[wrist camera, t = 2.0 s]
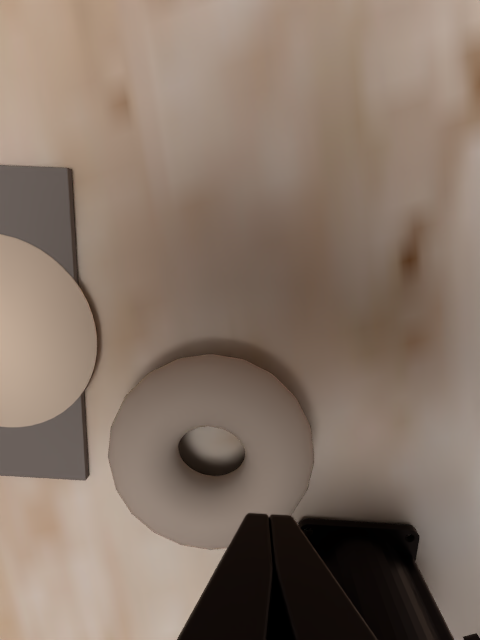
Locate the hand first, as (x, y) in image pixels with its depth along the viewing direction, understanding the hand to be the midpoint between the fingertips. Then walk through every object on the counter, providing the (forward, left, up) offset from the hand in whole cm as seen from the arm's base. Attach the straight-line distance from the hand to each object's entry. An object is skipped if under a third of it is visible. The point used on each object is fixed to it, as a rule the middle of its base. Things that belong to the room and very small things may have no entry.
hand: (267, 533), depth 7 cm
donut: (+5, +1, -10) cm, 12 cm away
